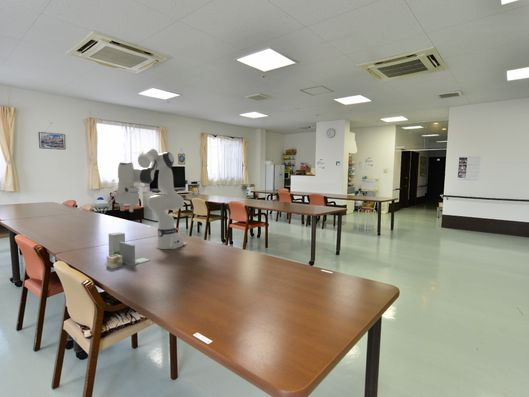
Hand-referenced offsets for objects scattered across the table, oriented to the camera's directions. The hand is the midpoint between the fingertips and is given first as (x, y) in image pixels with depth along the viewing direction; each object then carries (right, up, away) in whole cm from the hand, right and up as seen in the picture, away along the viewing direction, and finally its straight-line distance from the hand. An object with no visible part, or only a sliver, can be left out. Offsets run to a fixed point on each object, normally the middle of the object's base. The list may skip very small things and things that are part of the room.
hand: (126, 211), depth 176 cm
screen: (-1, -32, +3) cm, 32 cm away
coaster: (+6, -32, +6) cm, 33 cm away
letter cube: (-5, -33, -4) cm, 33 cm away
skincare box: (-13, -31, +14) cm, 37 cm away
